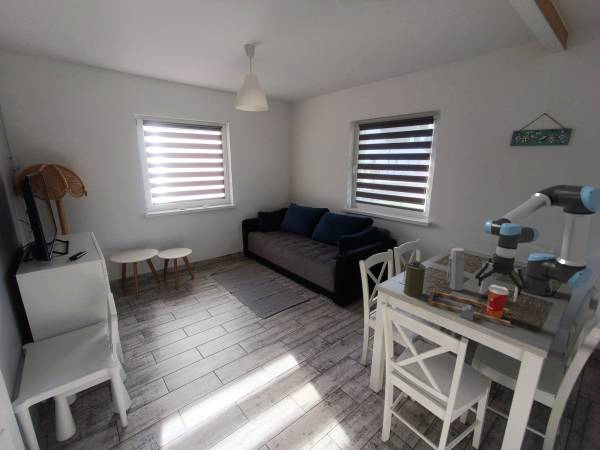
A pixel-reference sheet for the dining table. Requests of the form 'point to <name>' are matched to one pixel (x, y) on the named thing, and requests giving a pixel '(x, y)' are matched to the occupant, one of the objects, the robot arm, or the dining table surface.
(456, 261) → the water bottle
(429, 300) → the brown piece
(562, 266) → the robot arm
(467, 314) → the block
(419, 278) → the canister
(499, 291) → the coffee cup
